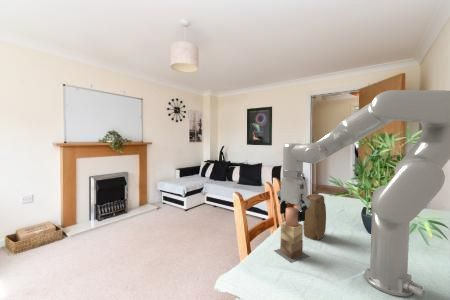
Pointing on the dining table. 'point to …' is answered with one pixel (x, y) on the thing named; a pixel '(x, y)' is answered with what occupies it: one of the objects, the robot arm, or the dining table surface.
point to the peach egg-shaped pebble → (292, 217)
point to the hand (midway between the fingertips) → (291, 216)
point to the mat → (293, 258)
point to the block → (315, 217)
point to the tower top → (291, 233)
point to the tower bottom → (291, 248)
